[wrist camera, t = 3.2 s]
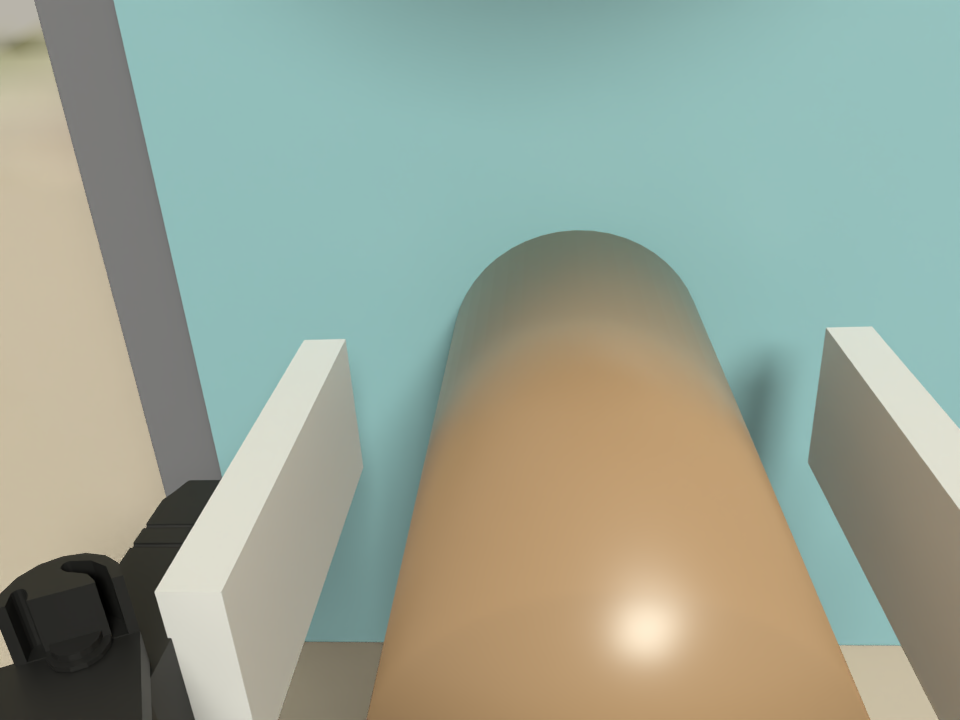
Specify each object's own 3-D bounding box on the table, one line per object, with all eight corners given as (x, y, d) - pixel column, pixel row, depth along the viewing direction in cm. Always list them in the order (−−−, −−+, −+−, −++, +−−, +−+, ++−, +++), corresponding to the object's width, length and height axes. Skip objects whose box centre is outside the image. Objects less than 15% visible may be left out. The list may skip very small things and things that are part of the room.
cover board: (270, 612, 22) (57, 1143, 12) (124, -67, 15) (-638, -78, 5) (901, 615, 21) (1219, 1211, 11) (1060, -128, 14) (2317, -293, 4)
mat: (212, 625, 23) (204, 640, 23) (20, -120, 15) (1, -123, 15) (966, 628, 22) (977, 645, 21) (1183, -204, 14) (1209, -210, 13)
